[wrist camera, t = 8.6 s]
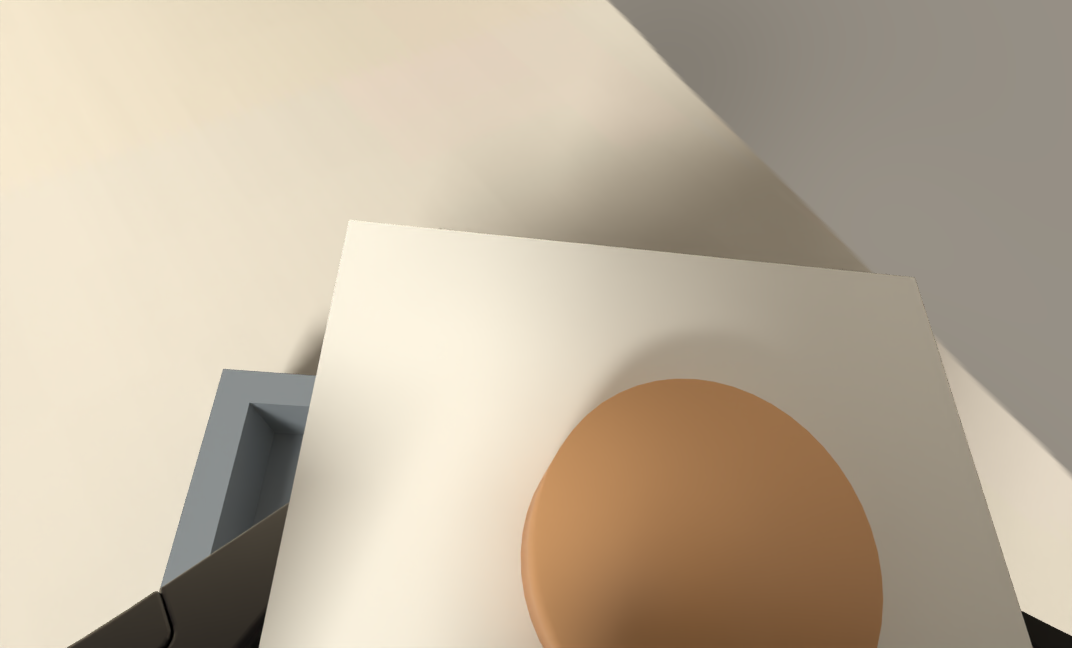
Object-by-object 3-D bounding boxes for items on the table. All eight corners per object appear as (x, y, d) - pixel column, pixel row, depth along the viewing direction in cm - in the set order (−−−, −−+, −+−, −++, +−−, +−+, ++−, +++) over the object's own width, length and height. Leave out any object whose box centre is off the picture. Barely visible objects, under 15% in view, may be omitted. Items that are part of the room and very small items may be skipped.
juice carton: (628, 760, 14) (1359, 1209, 3) (377, 758, 13) (57, 1320, 2) (619, 507, 16) (977, 229, 5) (409, 495, 16) (335, 157, 5)
